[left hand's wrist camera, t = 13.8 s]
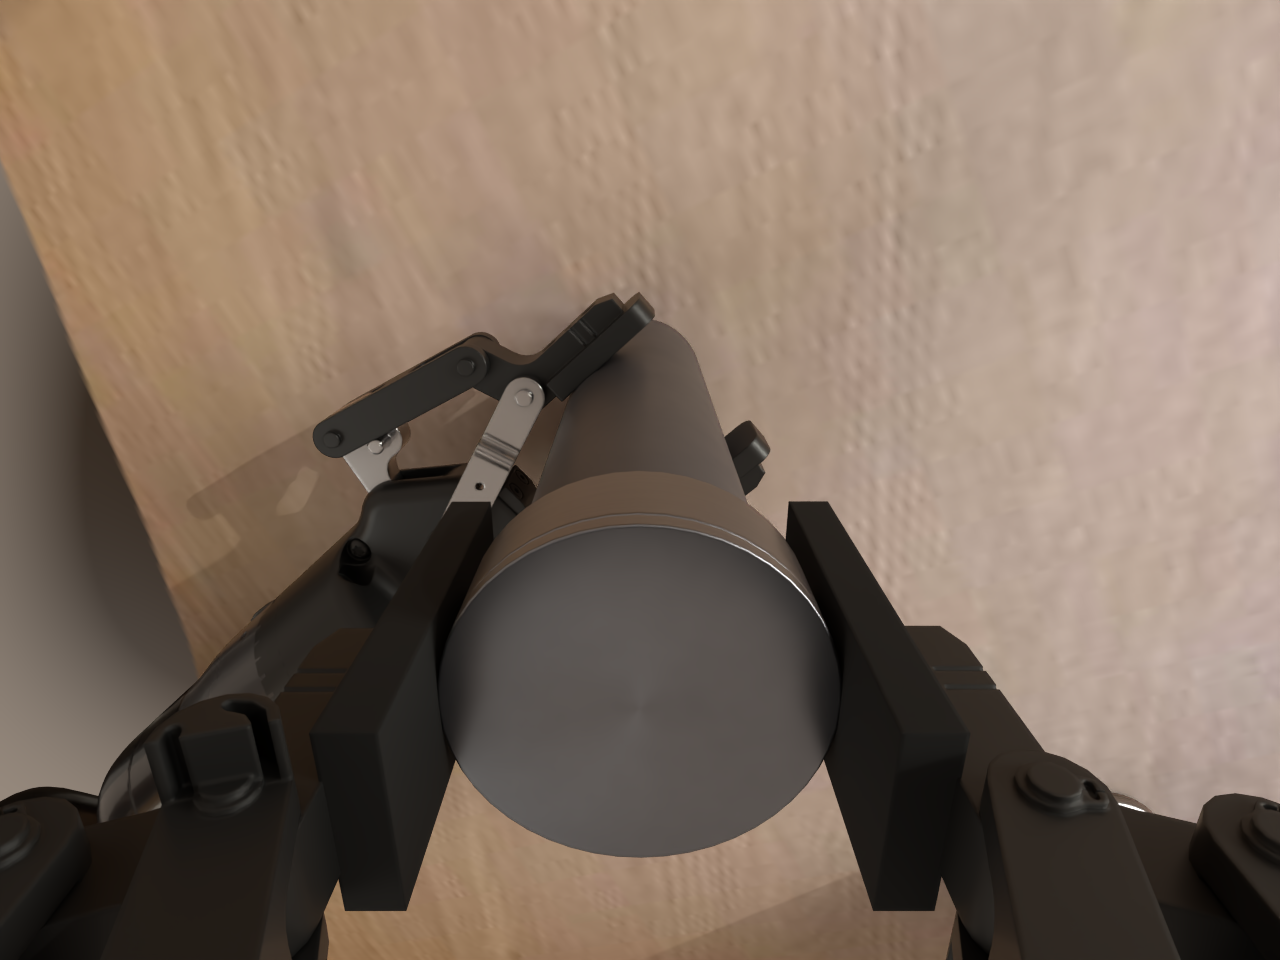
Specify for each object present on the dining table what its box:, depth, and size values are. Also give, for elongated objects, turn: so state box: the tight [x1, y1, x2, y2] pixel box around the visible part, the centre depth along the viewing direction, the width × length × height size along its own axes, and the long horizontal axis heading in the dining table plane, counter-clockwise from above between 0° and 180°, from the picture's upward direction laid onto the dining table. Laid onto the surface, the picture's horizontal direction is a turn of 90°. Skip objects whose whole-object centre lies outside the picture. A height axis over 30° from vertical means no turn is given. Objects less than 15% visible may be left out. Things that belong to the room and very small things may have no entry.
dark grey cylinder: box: [532, 320, 748, 504], centre depth 20 cm, size 5×5×20 cm
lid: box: [437, 471, 842, 858], centre depth 11 cm, size 6×6×2 cm
